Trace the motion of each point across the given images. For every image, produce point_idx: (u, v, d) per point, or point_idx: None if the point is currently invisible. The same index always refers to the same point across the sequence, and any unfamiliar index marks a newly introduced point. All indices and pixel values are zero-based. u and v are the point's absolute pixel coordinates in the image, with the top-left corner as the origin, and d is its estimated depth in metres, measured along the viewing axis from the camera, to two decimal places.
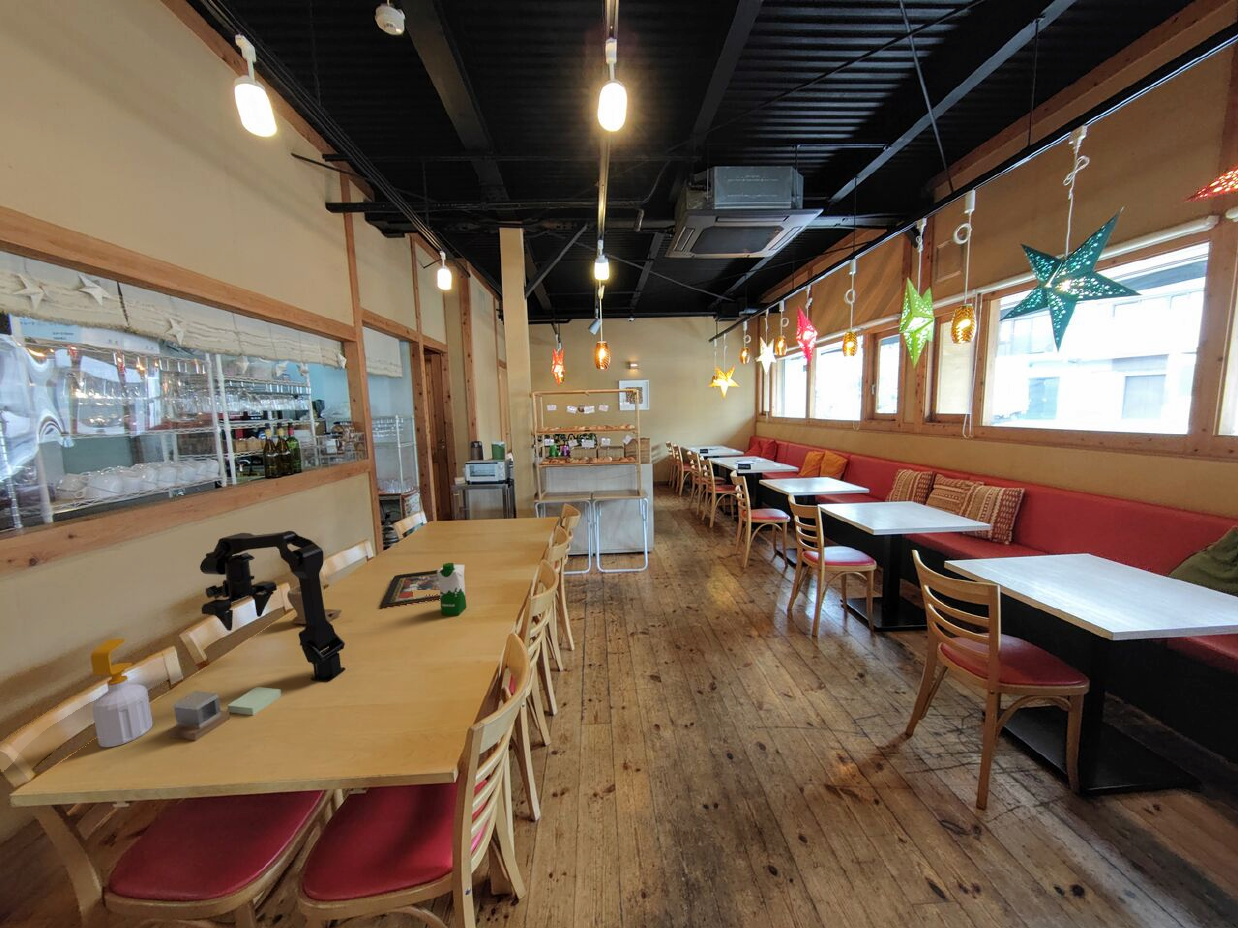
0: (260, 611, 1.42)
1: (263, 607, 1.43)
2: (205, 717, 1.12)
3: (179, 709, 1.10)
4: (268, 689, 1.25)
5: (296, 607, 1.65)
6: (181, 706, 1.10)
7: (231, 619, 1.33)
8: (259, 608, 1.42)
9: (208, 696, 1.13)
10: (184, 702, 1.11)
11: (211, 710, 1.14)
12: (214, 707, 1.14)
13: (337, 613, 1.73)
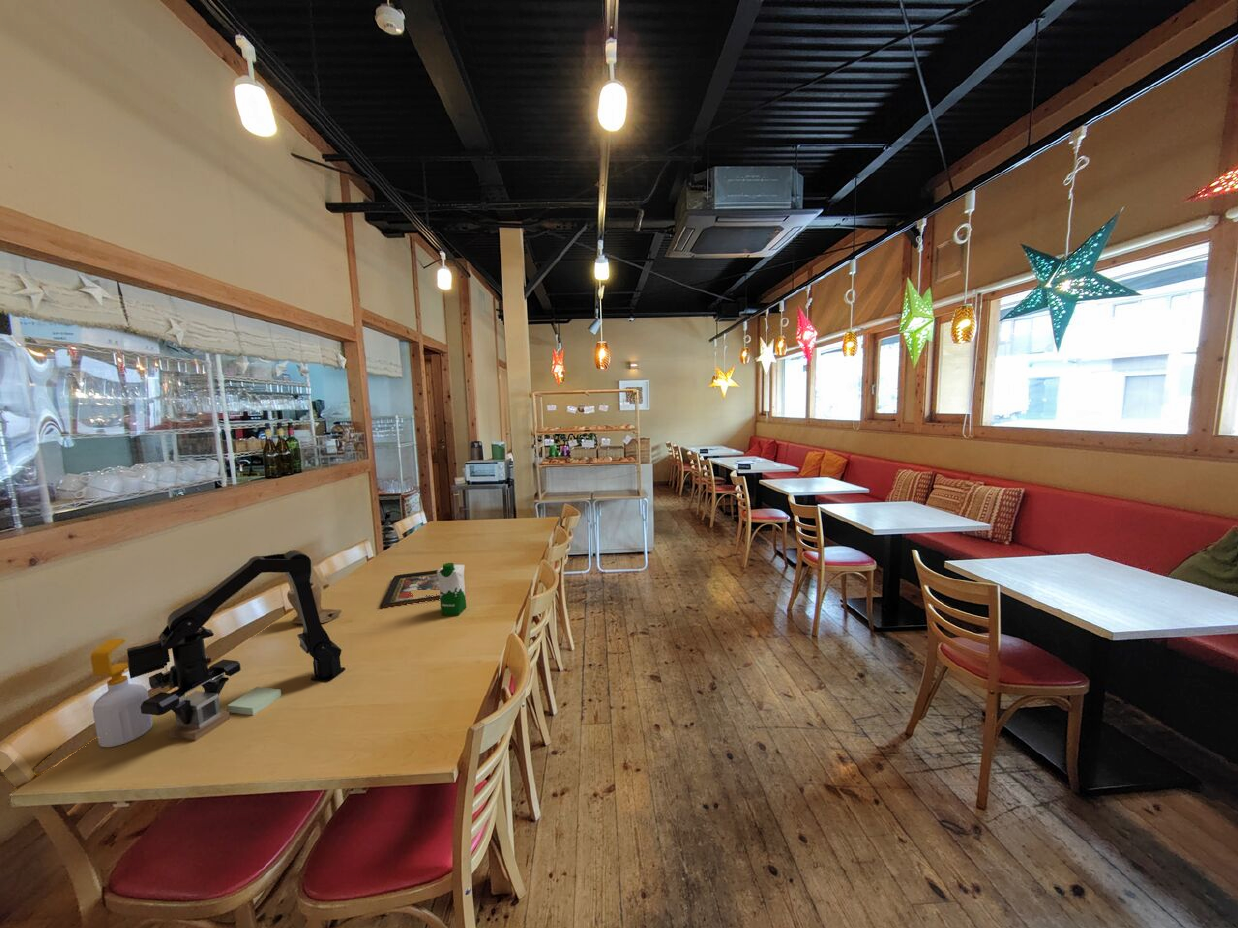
0: None
1: None
2: (205, 717, 1.12)
3: None
4: (268, 689, 1.25)
5: (296, 607, 1.65)
6: None
7: (188, 710, 1.09)
8: None
9: (208, 696, 1.13)
10: None
11: (211, 710, 1.14)
12: (214, 707, 1.14)
13: (337, 613, 1.73)
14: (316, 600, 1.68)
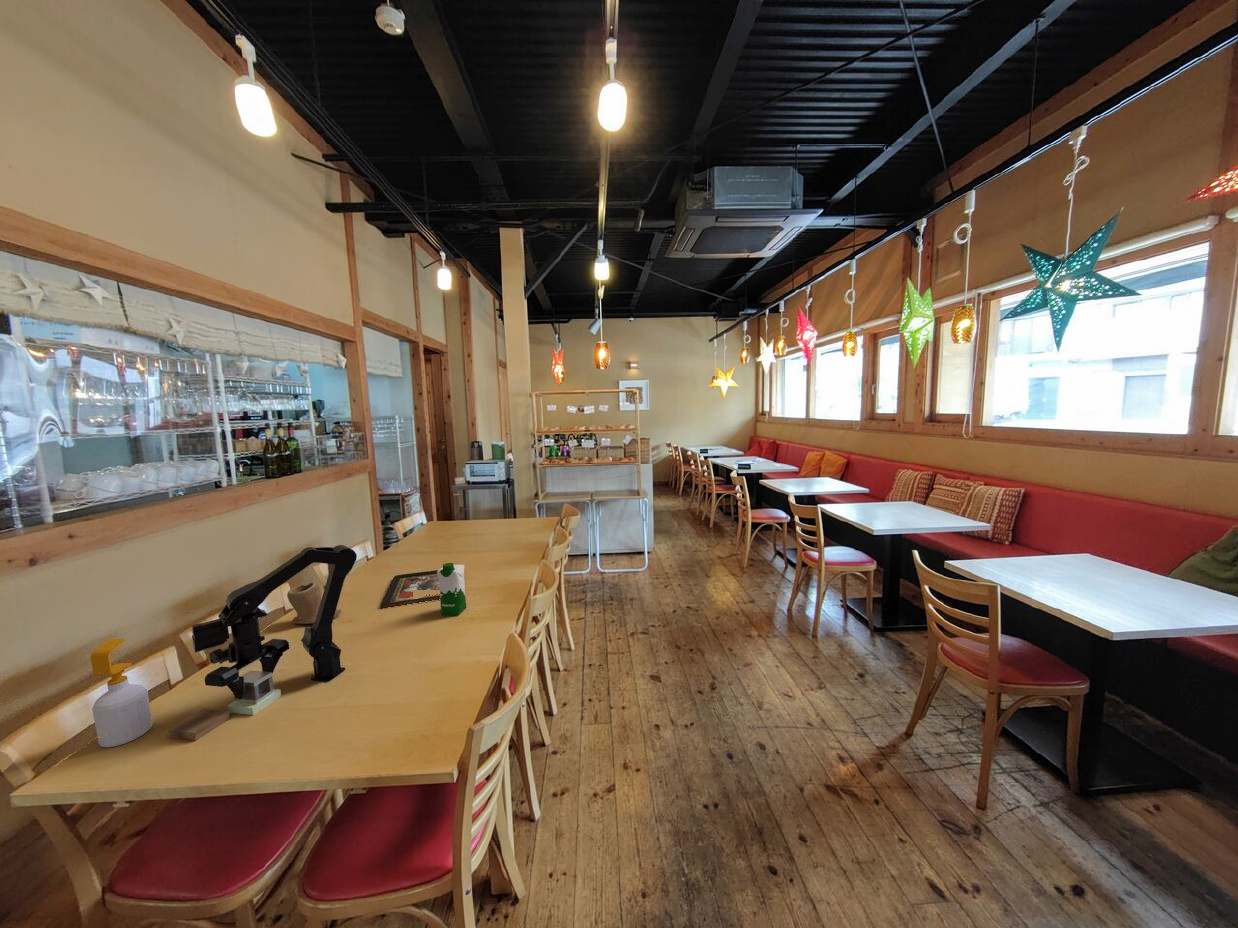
0: None
1: (271, 671, 1.25)
2: (261, 694, 1.21)
3: None
4: None
5: (296, 607, 1.65)
6: None
7: (242, 686, 1.17)
8: None
9: (263, 674, 1.22)
10: None
11: (265, 687, 1.23)
12: (268, 685, 1.22)
13: (337, 613, 1.73)
14: (316, 600, 1.68)
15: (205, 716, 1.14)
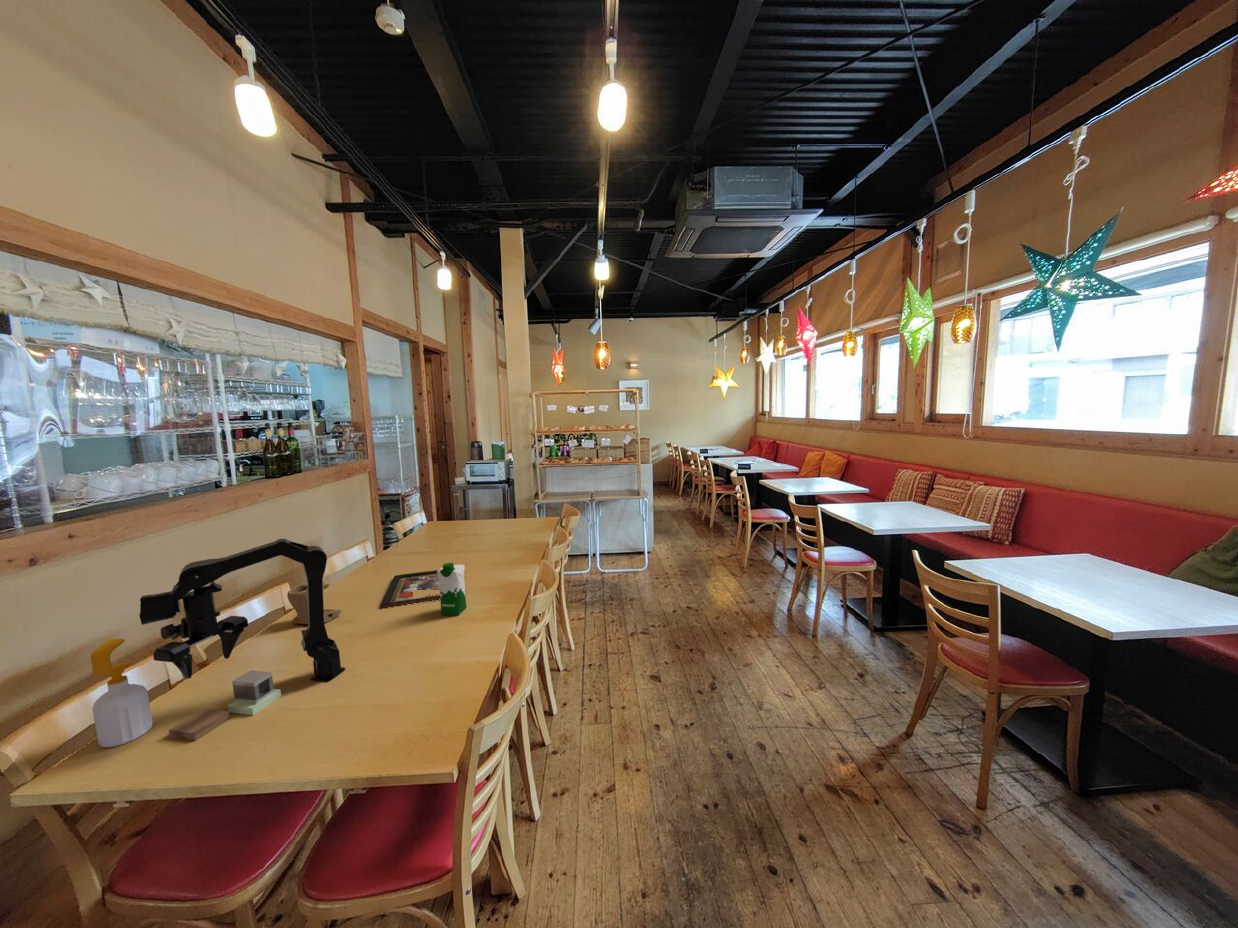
0: (228, 652, 1.21)
1: (231, 647, 1.21)
2: (261, 694, 1.21)
3: (237, 686, 1.19)
4: None
5: (296, 607, 1.65)
6: (239, 683, 1.19)
7: (190, 665, 1.11)
8: (226, 648, 1.21)
9: (263, 674, 1.22)
10: (241, 680, 1.20)
11: (265, 687, 1.23)
12: (268, 685, 1.22)
13: (337, 613, 1.73)
14: None
15: (205, 716, 1.14)
